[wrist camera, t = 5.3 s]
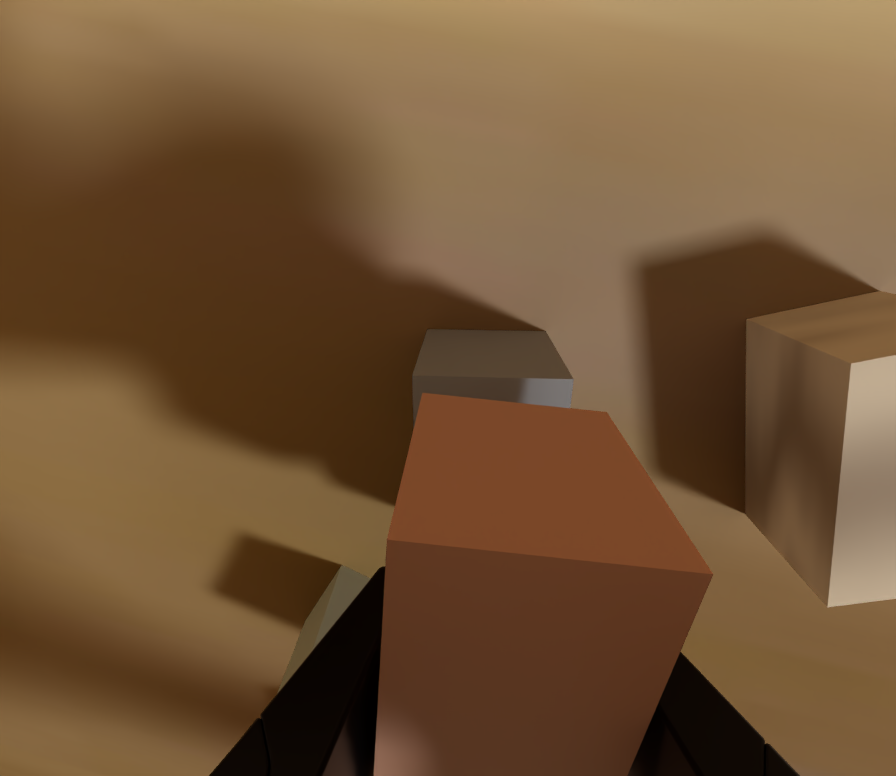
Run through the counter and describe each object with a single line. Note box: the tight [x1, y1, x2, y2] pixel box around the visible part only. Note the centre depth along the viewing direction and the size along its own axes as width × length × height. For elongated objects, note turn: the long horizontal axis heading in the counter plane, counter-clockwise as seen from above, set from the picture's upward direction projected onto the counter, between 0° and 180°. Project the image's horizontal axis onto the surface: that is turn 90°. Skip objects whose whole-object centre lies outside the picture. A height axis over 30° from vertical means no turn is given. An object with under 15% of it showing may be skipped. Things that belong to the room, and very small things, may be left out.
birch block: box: [745, 291, 896, 607], centre depth 12 cm, size 7×4×4 cm, turn 14°
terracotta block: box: [374, 393, 713, 776], centre depth 8 cm, size 7×4×4 cm, turn 174°
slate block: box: [412, 329, 574, 427], centre depth 13 cm, size 7×4×4 cm, turn 0°
